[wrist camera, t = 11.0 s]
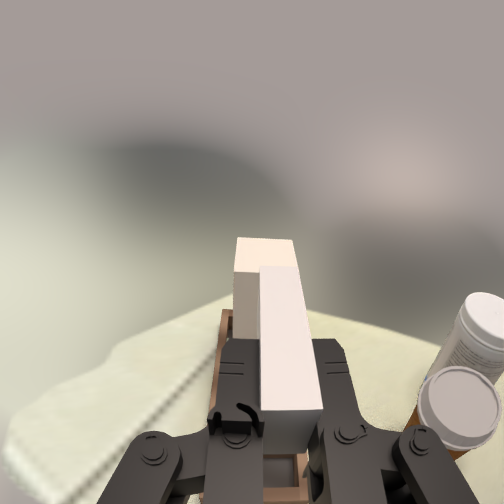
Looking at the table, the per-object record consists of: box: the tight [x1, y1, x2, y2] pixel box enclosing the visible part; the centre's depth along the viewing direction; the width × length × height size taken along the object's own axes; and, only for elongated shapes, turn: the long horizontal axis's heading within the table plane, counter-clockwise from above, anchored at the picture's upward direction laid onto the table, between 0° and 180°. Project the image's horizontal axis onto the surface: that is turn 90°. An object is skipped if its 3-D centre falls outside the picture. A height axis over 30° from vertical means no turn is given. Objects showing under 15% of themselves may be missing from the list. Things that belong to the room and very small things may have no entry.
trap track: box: [199, 309, 309, 504], centre depth 34 cm, size 28×10×3 cm, turn 179°
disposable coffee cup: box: [403, 366, 502, 461], centre depth 24 cm, size 10×10×12 cm
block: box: [233, 237, 299, 339], centre depth 36 cm, size 7×6×15 cm
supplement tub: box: [423, 292, 504, 385], centre depth 31 cm, size 10×10×15 cm
